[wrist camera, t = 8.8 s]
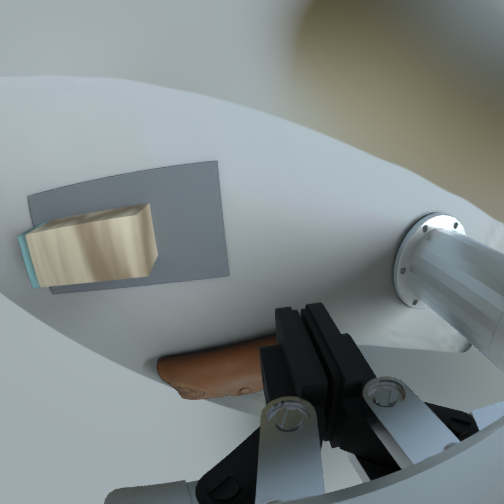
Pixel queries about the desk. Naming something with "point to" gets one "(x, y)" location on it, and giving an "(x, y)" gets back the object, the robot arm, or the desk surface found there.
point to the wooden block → (91, 247)
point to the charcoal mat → (153, 219)
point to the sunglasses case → (216, 370)
